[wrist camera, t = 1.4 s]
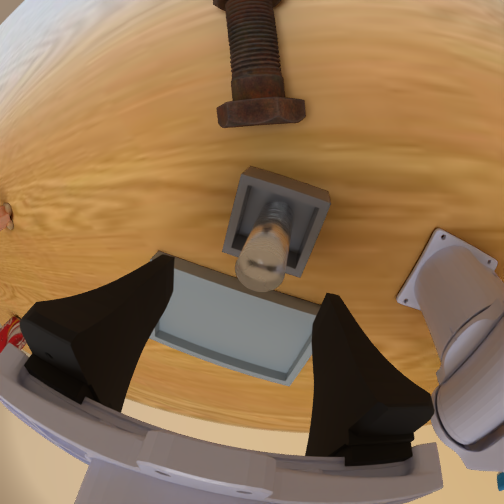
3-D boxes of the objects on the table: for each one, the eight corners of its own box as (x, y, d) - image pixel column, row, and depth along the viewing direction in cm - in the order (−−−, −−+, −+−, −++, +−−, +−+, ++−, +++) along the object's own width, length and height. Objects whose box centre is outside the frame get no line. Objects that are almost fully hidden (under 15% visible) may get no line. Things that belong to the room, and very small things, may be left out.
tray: (332, 308, 25) (333, 320, 23) (290, 375, 31) (289, 386, 29) (158, 250, 26) (150, 259, 24) (155, 328, 32) (149, 337, 30)
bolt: (261, -27, 13) (278, 124, 20) (201, -30, 12) (214, 129, 18) (290, -60, 8) (318, 121, 15) (217, -69, 7) (235, 125, 13)
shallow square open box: (328, 191, 20) (331, 203, 17) (301, 258, 23) (300, 277, 20) (250, 165, 20) (241, 173, 18) (232, 235, 23) (222, 252, 21)
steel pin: (298, 207, 20) (291, 258, 14) (287, 236, 22) (275, 298, 15) (265, 196, 21) (241, 242, 14) (256, 226, 22) (230, 282, 15)
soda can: (20, 314, 43) (-11, 346, 32) (36, 338, 46) (8, 371, 35) (11, 313, 45) (-17, 342, 35) (26, 336, 48) (0, 366, 37)
